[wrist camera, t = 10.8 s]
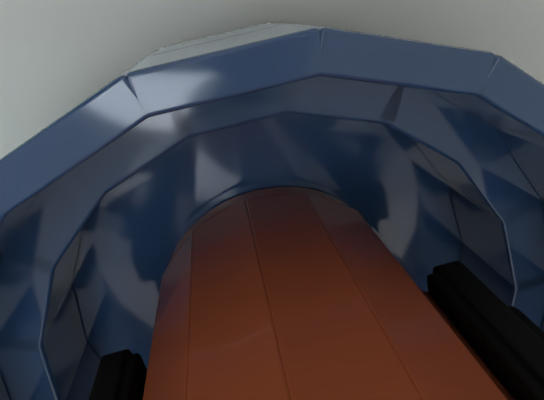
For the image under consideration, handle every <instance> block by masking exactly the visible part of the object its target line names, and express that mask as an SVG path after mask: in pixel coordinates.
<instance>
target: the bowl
mask: <svg viewBox="0 0 544 400" xmlns="http://www.w3.org/2000/svg"><path fill="white" fill-rule="evenodd" d="M274 187H299V188H306V189H312V190H317V191H320V192H323V193H326V194H329V195H332V196H334V197H336V198H338V199H340V200H342V201H344V202H346V203H348V204H349V205H350V206H352V207H353V208H355V209H356V210H357V211H359V212H360V213H361V214H362V215H363V216H364V217H365V218H366V219H367V220H368V221H369V223H370V224H371V225H372V226H373V228H374V229H375V230H376V231H377V232H378V233H379V234H380V235H381V236H382V237H383V238H384V240H385V241H386V242H387V243H388V244H389V245H390V246H391V248H392V249H393V250H394V251H395V252H396V254H397V255H398V256H399V257H400V259H401V260H402V261H403V262H404V264H405V265H406V266H407V267H408V268H409V270H410V271H411V272H412V273H413V275H414V276H415V277H416V278H417V280H418V281H419V282H420V283H421V284H422V286H423V287H424V288H425V289H426V291H427V292H428V286H427V276H428V275H429V274H433V268H434V267H435V266H438V265H442V264H446V263H450V262H453V261H460V262H461V263H462V264H464V265H465V266H466V267H467V268H468V269H469V270H470V271H471V272H472V273H473V274H474V275H475V276H476V277H477V278H478V279H479V280H480V281H481V282H482V283H483V284H484V285H486V286H487V287H488V288H489V289H490V290H491V291H492V292H493V293H494V294H495V295H496V296H497V297H498V298H499V299H500V300H501V301H502V302H503V303H504V304H505V305H507V306H508V307H509V306H513V307H516V308H517V309H519V310H520V311H521V312H523V313H524V314H525V315H526V316H527V317H528V318H529V319H530V320H531V321H532V322H533V323H534V324H535V325H537V326H538V327H539V328H540V329H541V330H542V331H543V332H544V84H542V83H541V82H539V81H538V80H536V79H535V78H533V77H532V76H530V75H529V74H527V73H526V72H524V71H523V70H521V69H520V68H518V67H517V66H515V65H514V64H512V63H511V62H509V61H508V60H506V59H505V58H503V57H502V56H500V55H494V54H493V53H492V52H488V51H481V50H474V49H468V48H461V47H454V46H448V45H441V44H434V43H428V42H421V41H415V40H408V39H401V38H395V37H388V36H381V35H375V34H368V33H361V32H355V31H348V30H342V29H335V28H328V27H319V26H307V25H296V24H284V23H270V24H269V23H263V24H258V25H254V26H250V27H246V28H241V29H237V30H233V31H229V32H225V33H220V34H216V35H212V36H208V37H203V38H199V39H195V40H191V41H186V42H182V43H178V44H174V45H169V46H165V47H163V48H162V49H159V50H156V51H154V52H153V53H151V54H150V55H149V56H147V57H146V58H144V59H143V60H141V61H140V62H139V63H137V64H136V65H134V66H133V67H131V68H130V69H129V70H127V71H126V72H124V73H123V74H121V75H120V76H118V77H117V78H116V79H114V80H113V81H111V82H110V83H108V84H107V85H106V86H104V87H103V88H101V89H100V90H98V91H97V92H96V93H94V94H93V95H91V96H90V97H88V98H87V99H86V100H84V101H83V102H81V103H80V104H78V105H77V106H76V107H74V108H73V109H71V110H70V111H68V112H67V113H66V114H64V115H63V116H61V117H60V118H58V119H57V120H56V121H54V122H53V123H51V124H50V125H48V126H47V127H46V128H44V129H43V130H41V131H40V132H38V133H37V134H36V135H34V136H33V137H31V138H30V139H28V140H27V141H26V142H24V143H23V144H21V145H20V146H18V147H17V148H16V149H14V150H13V151H11V152H10V153H8V154H7V155H6V156H4V157H3V158H1V159H0V400H89V397H90V393H91V390H92V387H93V383H94V380H95V377H96V373H97V370H98V367H99V363H100V360H101V358H102V356H104V355H107V354H110V353H114V352H118V351H122V350H125V349H129V350H130V351H131V352H132V354H135V353H139V354H140V355H141V357H142V360H143V362H144V364H145V366H146V369H147V368H148V362H149V355H150V349H151V343H152V337H153V330H154V324H155V318H156V311H157V305H158V299H159V292H160V286H161V280H162V276H163V273H164V271H165V269H166V267H167V264H168V261H169V258H170V256H171V254H172V252H173V250H174V249H175V247H176V245H177V244H178V242H179V241H180V239H181V238H182V237H183V235H184V234H185V233H186V232H187V230H188V229H189V228H190V227H191V226H192V225H193V224H194V223H195V222H196V221H197V220H199V219H200V218H201V217H202V216H203V215H205V214H206V213H207V212H208V211H210V210H212V209H213V208H215V207H217V206H218V205H220V204H221V203H223V202H225V201H228V200H230V199H232V198H234V197H236V196H239V195H242V194H245V193H248V192H251V191H255V190H261V189H266V188H274Z"/></svg>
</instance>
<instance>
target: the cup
mask: <svg viewBox="0 0 544 400" xmlns="http://www.w3.org/2000/svg"><path fill="white" fill-rule="evenodd" d="M142 400H515V399H514V398H513V397H512V395H511V394H510V393H509V392H508V391H507V389H506V388H505V387H504V386H503V384H502V383H501V382H500V381H499V379H498V378H497V377H496V376H495V374H494V373H493V372H492V371H491V370H490V368H489V367H488V366H487V365H486V363H485V362H484V361H483V360H482V358H481V357H480V356H479V355H478V354H477V352H476V351H475V350H474V349H473V347H472V346H471V345H470V344H469V342H468V341H467V340H466V339H465V338H464V336H463V335H462V334H461V333H460V331H459V330H458V329H457V328H456V326H455V325H454V324H453V323H452V321H451V320H450V319H449V318H448V317H447V315H446V314H445V313H444V312H443V310H442V309H441V308H440V307H439V305H438V304H437V303H436V302H435V301H434V299H433V298H432V297H431V296H430V294H429V293H428V292H427V291H426V289H425V288H424V287H423V286H422V284H421V283H420V282H419V281H418V280H417V278H416V277H415V276H414V275H413V273H412V272H411V271H410V270H409V268H408V267H407V266H406V265H405V264H404V262H403V261H402V260H401V259H400V257H399V256H398V255H397V254H396V252H395V251H394V250H393V249H392V248H391V246H390V245H389V244H388V243H387V242H386V241H385V240H384V238H383V237H382V236H381V235H380V234H379V233H378V232H377V231H376V230H375V229H374V228H373V226H372V225H371V224H370V223H369V221H368V220H367V219H366V218H365V217H364V216H363V215H362V214H361V213H360V212H359V211H357V210H356V209H355V208H353V207H352V206H350V205H349V204H348V203H346V202H344V201H342V200H340V199H338V198H336V197H334V196H332V195H329V194H326V193H323V192H320V191H317V190H312V189H306V188H299V187H274V188H266V189H261V190H255V191H251V192H248V193H245V194H242V195H239V196H236V197H234V198H232V199H230V200H228V201H225V202H223V203H221V204H220V205H218V206H217V207H215V208H213V209H212V210H210V211H208V212H207V213H206V214H205V215H203V216H202V217H201V218H200V219H199V220H197V221H196V222H195V223H194V224H193V225H192V226H191V227H190V228H189V229H188V230H187V232H186V233H185V234H184V235H183V237H182V238H181V239H180V241H179V242H178V244H177V245H176V247H175V249H174V250H173V252H172V254H171V256H170V258H169V261H168V264H167V267H166V269H165V271H164V273H163V276H162V280H161V286H160V292H159V299H158V305H157V311H156V318H155V324H154V330H153V337H152V343H151V349H150V355H149V362H148V368H147V374H146V381H145V387H144V393H143V399H142Z"/></svg>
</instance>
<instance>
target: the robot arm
mask: <svg viewBox="0 0 544 400" xmlns="http://www.w3.org/2000/svg"><path fill="white" fill-rule="evenodd" d="M427 286H428V293H429V294H430V296H431V297H432V298H433V299H434V301H435V302H436V303H437V304H438V305H439V307H440V308H441V309H442V310H443V312H444V313H445V314H446V315H447V317H448V318H449V319H450V320H451V321H452V323H453V324H454V325H455V326H456V328H457V329H458V330H459V331H460V333H461V334H462V335H463V336H464V338H465V339H466V340H467V341H468V342H469V344H470V345H471V346H472V347H473V349H474V350H475V351H476V352H477V354H478V355H479V356H480V357H481V358H482V360H483V361H484V362H485V363H486V365H487V366H488V367H489V368H490V370H491V371H492V372H493V373H494V374H495V376H496V377H497V378H498V379H499V381H500V382H501V383H502V384H503V386H504V387H505V388H506V389H507V391H508V392H509V393H510V394H511V395H512V397H513V398H514V399H515V400H544V332H543V331H542V330H541V329H540V328H539V327H538V326H537V325H535V324H534V323H533V322H532V321H531V320H530V319H529V318H528V317H527V316H526V315H525V314H524V313H523V312H521V311H520V310H519V309H517V308H516V307H513V306H509V307H508V306H507V305H505V304H504V303H503V302H502V301H501V300H500V299H499V298H498V297H497V296H496V295H495V294H494V293H493V292H492V291H491V290H490V289H489V288H488V287H487V286H486V285H484V284H483V283H482V282H481V281H480V280H479V279H478V278H477V277H476V276H475V275H474V274H473V273H472V272H471V271H470V270H469V269H468V268H467V267H466V266H465V265H464V264H462V263H461V262H460V261H453V262H450V263H446V264H442V265H438V266H435V267H434V268H433V274H429V275H428V276H427ZM146 374H147V369H146V366H145V364H144V362H143V360H142V357H141V355H140V354H139V353H135V354H132V352H131V351H130V350H129V349H125V350H122V351H118V352H114V353H110V354H107V355H104V356H102V358H101V360H100V363H99V367H98V370H97V373H96V377H95V380H94V383H93V387H92V390H91V393H90V397H89V400H142V399H143V393H144V387H145V381H146Z"/></svg>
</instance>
